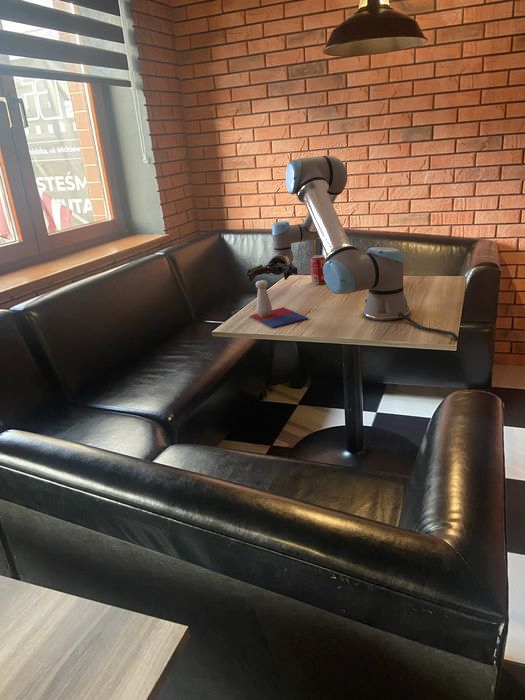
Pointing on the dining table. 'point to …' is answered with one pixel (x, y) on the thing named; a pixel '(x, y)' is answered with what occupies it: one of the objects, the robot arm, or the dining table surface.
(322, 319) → the dining table surface
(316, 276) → the soda can
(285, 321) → the sorting mat
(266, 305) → the salt shaker
